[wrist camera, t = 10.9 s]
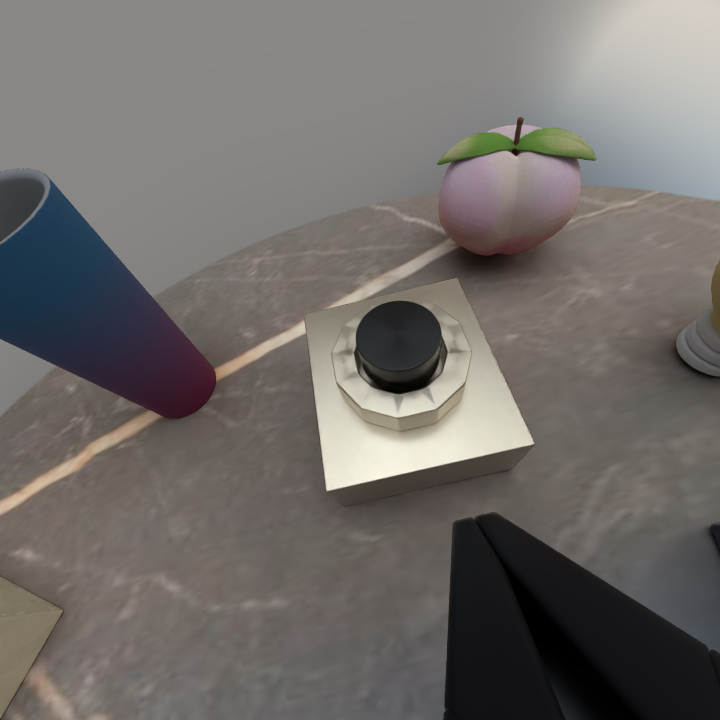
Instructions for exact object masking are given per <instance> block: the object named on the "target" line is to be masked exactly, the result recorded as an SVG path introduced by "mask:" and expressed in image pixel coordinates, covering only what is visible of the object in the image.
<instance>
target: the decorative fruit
mask: <svg viewBox="0 0 720 720" xmlns="http://www.w3.org/2000/svg"><path fill="white" fill-rule="evenodd" d="M522 124H523V118H522V117H520V118H518V121H517V125H509V126H502V127H499V128H495V129H493V130H490V131H487V132H485V133H479V134H475V135H472V136H469V137H467V138H465V139H463V140H462V141H460V142H459V143H457V144H456V145H455V146H453V147H452V148H451V149H450V150H449V151H448V152H446V154H444V155H443V157H442V158H441V159H440V161H439V162H438V163H437V165H441V164H445V163H449V162H451V163H450V165H449V167H448V169H447V171H446V174H445V176H444V180H443V183H442V187H441V192H440V199H439V217H440V221H441V224H442V226H443V228H444V230H445V232H446V233H447V235H448V236H449V237H450V238H451V239H452V240H453V241H454V242H456V243H457V244H458V245H460V246H462V247H463V248H465V249H467V250H469V251H471V252H474V253H476V254H480V255H493V254H496V253H502V254H515V253H518V252H522V251H525V250H527V249H530V248H532V247H534V246H536V245H538V244H540V243H542V242H543V241H545V240H547V239H548V238H550V237H551V236H553V235H554V234H556V233H557V232H558V231H559V230H560V229H562V228H563V227H564V226H565V225H566V223H567V222H568V221H569V220H570V219H571V217H572V216H573V214H574V212H575V210H576V207H577V204H578V201H579V196H580V190H581V171H580V166H579V162H578V159H584V160H593V161H595V160H596V159H597V158H596V156H595V154H594V152H593V150H592V148H591V147H590V146H589V145H588V144H587V143H586V142H585V141H584V140H583V139H582V138H581V137H579V136H578V135H576V134H574V133H572V132H570V131H567V130H564V129H558V128H545V129H544V128H543V129H541V128H539V127H535V126H530V125H522ZM577 158H578V159H577Z"/></svg>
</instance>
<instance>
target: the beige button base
mask: <svg viewBox="0 0 720 720" xmlns="http://www.w3.org/2000/svg"><path fill="white" fill-rule="evenodd" d="M391 301H410V302H415V303H417V304H420V305H422V306H424V307H426V308H427V309H428V310H430V311H431V312H432V313H433V314H434V315H435V317H436V318H437V320H438V322H439V324H440V327H441V332H442V337H441V349H440V359H439V364H438V367H437V369H436V371H435V373H434V374H433V376H432V377H431V378H430V379H429V380H428V381H426V382H425V383H424V384H422V385H420V386H418V387H416V388H413V389H409V390H401V391H397V390H390V389H386V388H383V387H381V386H379V385H377V384H376V383H374V382H373V381H372V380H371V379H370V378H369V377H368V376H367V375H366V373H365V371H364V369H363V366H362V363H361V359H360V356H359V352H358V349H357V345H356V330H357V327H358V325H359V323H360V321H361V320H362V318H363V317H364V316H365V315H366V314H367V313H368V312H369V311H370V310H372V309H373V308H375V307H376V306H378V305H381V304H383V303H386V302H391ZM304 319H305V327H306V335H307V343H308V351H309V359H310V367H311V375H312V383H313V391H314V399H315V407H316V415H317V423H318V431H319V439H320V447H321V455H322V463H323V471H324V479H325V487H326V492H327V493H328V494H330V495H331V496H332V497H333V498H335V499H336V500H337V501H338V502H340V503H341V504H342V505H343V506H350V505H354V504H358V503H363V502H367V501H372V500H376V499H381V498H385V497H390V496H394V495H399V494H403V493H407V492H412V491H416V490H421V489H425V488H430V487H434V486H439V485H443V484H448V483H452V482H456V481H461V480H465V479H470V478H474V477H479V476H483V475H488V474H492V473H497V472H501V471H505V470H510V469H513V468H514V466H515V465H516V464H517V463H518V462H519V461H520V460H521V459H522V458H523V457H524V456H525V455H526V454H527V453H528V452H529V450H530V449H531V448H532V447H533V446H534V445H535V443H534V441H533V439H532V437H531V434H530V432H529V430H528V428H527V426H526V424H525V422H524V419H523V417H522V415H521V413H520V411H519V409H518V407H517V404H516V402H515V400H514V398H513V396H512V394H511V392H510V389H509V387H508V385H507V383H506V381H505V379H504V377H503V374H502V372H501V370H500V368H499V366H498V364H497V361H496V359H495V357H494V355H493V353H492V351H491V349H490V346H489V344H488V342H487V340H486V338H485V336H484V334H483V331H482V329H481V327H480V325H479V323H478V321H477V319H476V316H475V314H474V312H473V310H472V308H471V306H470V304H469V301H468V299H467V297H466V295H465V293H464V291H463V289H462V286H461V284H460V282H459V280H458V278H453V279H448V280H444V281H440V282H436V283H432V284H428V285H424V286H420V287H416V288H411V289H407V290H403V291H399V292H395V293H391V294H387V295H383V296H379V297H374V298H370V299H366V300H362V301H358V302H354V303H350V304H346V305H342V306H337V307H333V308H329V309H325V310H321V311H317V312H313V313H309V314H305V315H304Z"/></svg>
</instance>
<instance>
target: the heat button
mask: <svg viewBox="0 0 720 720" xmlns="http://www.w3.org/2000/svg"><path fill="white" fill-rule="evenodd" d="M441 337H442V332H441V327H440V324H439V322H438V320H437V318H436V317H435V315H434V314H433V313H432V312H431V311H430V310H428V309H427V308H426V307H424V306H422V305H420V304H417V303H415V302H410V301H391V302H386V303H383V304H381V305H378V306H376V307H375V308H373V309H372V310H370V311H369V312H368V313H367V314H366V315H365V316H364V317H363V318H362V320H361V321H360V323H359V325H358V327H357V330H356V345H357V349H358V352H359V356H360V359H361V363H362V366H363V369H364V371H365V373H366V375H367V376H368V377H369V378H370V379H371V380H372V381H373V382H374V383H376V384H377V385H379V386H381V387H383V388H386V389H390V390H397V391H401V390H409V389H413V388H416V387H418V386H420V385H422V384H424V383H425V382H426V381H428V380H429V379H430V378H431V377H432V376H433V374H434V373H435V371H436V369H437V367H438V364H439V359H440V349H441Z"/></svg>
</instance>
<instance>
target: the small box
mask: <svg viewBox="0 0 720 720" xmlns="http://www.w3.org/2000/svg"><path fill="white" fill-rule="evenodd" d="M711 530H712V532H713V534H714V535H715V538H716V541H717V544H718V547H719V549H720V522H718V523H714V524H712V525H711Z"/></svg>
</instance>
